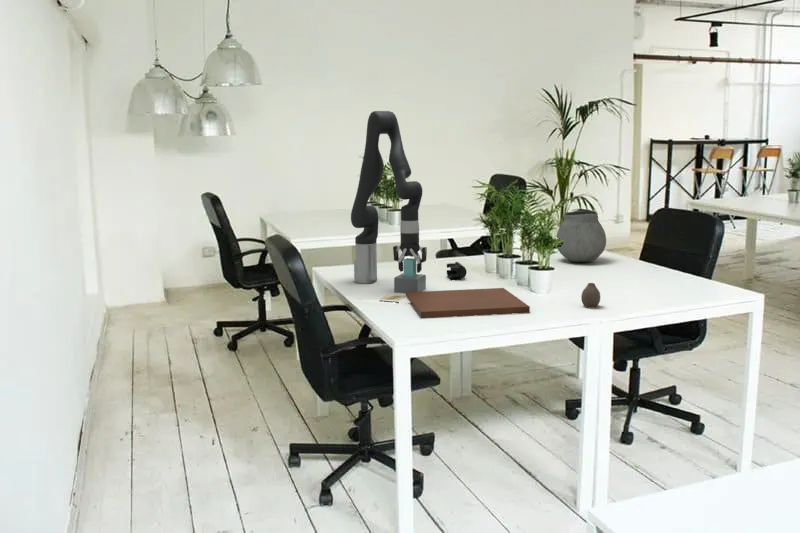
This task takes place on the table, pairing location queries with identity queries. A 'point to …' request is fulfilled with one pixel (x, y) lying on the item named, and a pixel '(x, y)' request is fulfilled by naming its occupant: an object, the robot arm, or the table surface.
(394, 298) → the mat
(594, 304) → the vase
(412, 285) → the grey square socket block
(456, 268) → the end cap
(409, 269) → the plug
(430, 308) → the flat brown board
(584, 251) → the ceramic pot
